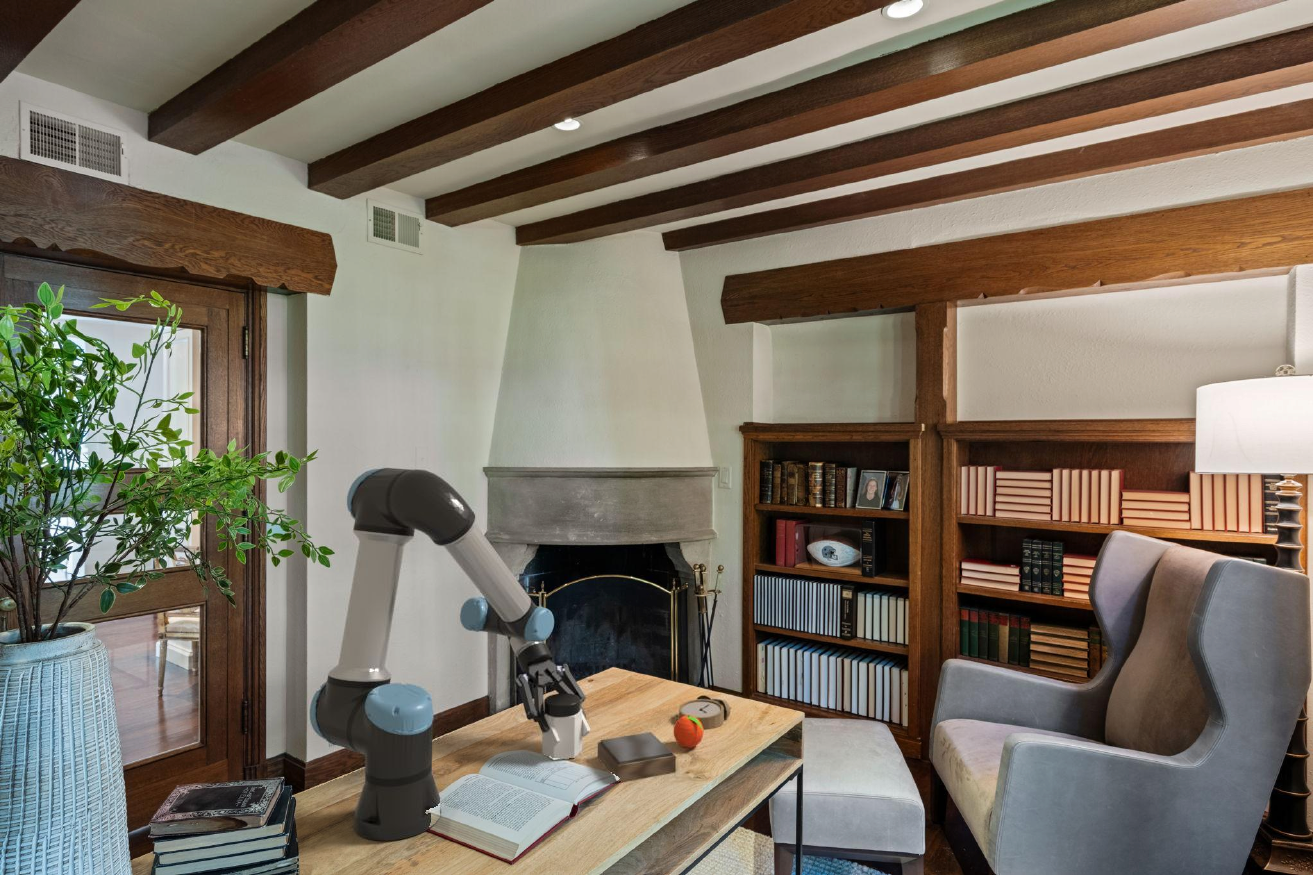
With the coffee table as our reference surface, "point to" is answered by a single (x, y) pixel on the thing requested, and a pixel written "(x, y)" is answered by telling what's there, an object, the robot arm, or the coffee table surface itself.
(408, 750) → the robot arm
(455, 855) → the coffee table surface
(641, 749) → the stand
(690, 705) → the alarm clock
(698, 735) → the clementine
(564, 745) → the jar
